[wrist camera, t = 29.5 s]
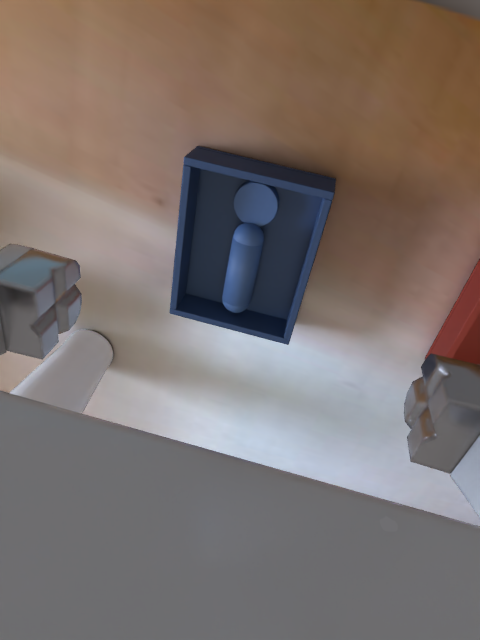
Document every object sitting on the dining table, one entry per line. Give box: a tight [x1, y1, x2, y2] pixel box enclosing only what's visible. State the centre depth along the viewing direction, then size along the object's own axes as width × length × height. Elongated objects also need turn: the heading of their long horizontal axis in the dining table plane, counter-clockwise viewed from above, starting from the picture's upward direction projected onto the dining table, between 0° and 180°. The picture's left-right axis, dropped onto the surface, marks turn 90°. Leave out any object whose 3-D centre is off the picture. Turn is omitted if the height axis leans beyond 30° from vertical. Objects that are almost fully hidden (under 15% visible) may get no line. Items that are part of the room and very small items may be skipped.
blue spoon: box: [222, 180, 279, 313], centre depth 37 cm, size 4×12×3 cm, turn 170°
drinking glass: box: [10, 330, 113, 414], centre depth 44 cm, size 7×7×15 cm
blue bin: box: [170, 146, 336, 345], centre depth 37 cm, size 14×11×4 cm
